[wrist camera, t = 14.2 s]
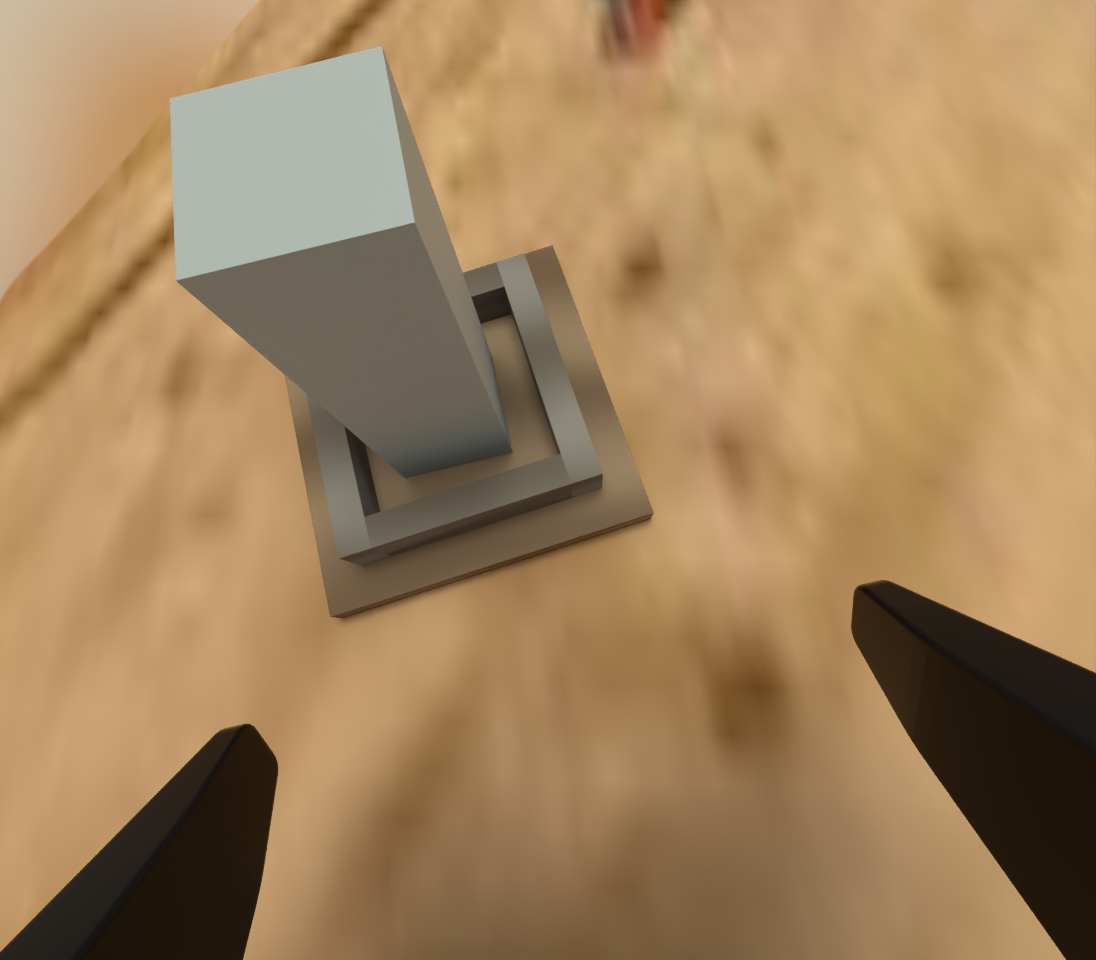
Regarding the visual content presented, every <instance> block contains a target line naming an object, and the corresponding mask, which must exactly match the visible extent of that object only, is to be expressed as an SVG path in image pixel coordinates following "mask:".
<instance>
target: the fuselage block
mask: <svg viewBox="0 0 1096 960" xmlns="http://www.w3.org/2000/svg"><path fill="white" fill-rule="evenodd" d="M170 117H171V148H172V178H173V209H174V239H175V270H176V281H177V282H178V283H179V284H180V285H182V286H183V287H184V288H185V289H186V290H187V291H189V292H190V293H191V294H192V295H193V296H194V297H196V298H197V299H198V300H199V301H200V302H201V303H203V304H204V305H205V306H206V307H207V308H208V309H209V310H211V311H212V312H213V313H214V314H215V315H216V316H218V317H219V318H220V319H221V320H222V321H223V322H225V323H226V324H227V325H228V326H229V327H230V328H232V329H233V330H234V331H235V332H236V333H237V334H238V335H240V336H241V337H242V338H243V339H244V340H245V341H247V342H248V343H249V344H250V345H251V346H252V347H254V348H255V349H256V350H257V351H258V352H259V353H261V354H262V355H263V356H264V357H265V358H266V359H267V360H269V361H270V362H271V363H272V364H273V365H274V366H276V367H277V368H278V369H279V370H280V371H281V372H283V373H284V374H285V375H286V376H287V377H288V378H290V379H291V380H292V381H293V382H294V383H295V384H296V385H298V386H299V387H300V388H301V389H302V390H303V391H305V392H306V393H307V394H308V395H309V396H310V397H312V398H313V399H314V400H315V401H316V402H317V403H319V404H320V405H321V406H322V407H323V408H324V409H325V410H327V411H328V412H329V413H330V414H331V415H332V416H334V417H335V418H336V419H337V420H338V421H339V422H341V423H342V424H343V425H344V426H345V427H346V428H348V429H349V430H350V431H351V432H352V433H353V434H354V435H356V436H357V437H358V438H359V439H360V440H361V441H363V442H364V443H365V444H366V445H367V446H368V447H370V448H371V449H372V450H373V451H374V452H375V453H377V454H378V455H379V456H380V457H381V458H382V459H384V460H385V461H386V462H387V463H388V464H389V465H390V466H392V467H393V468H394V469H395V470H396V471H397V472H399V473H400V474H401V475H402V476H403V477H404V478H408V477H412V476H416V475H421V474H425V473H429V472H433V471H437V470H442V469H446V468H450V467H454V466H458V465H463V464H467V463H471V462H475V461H480V460H484V459H488V458H492V457H496V456H501V455H505V454H509V453H513V451H512V446H511V441H510V437H509V432H508V428H507V423H506V418H505V414H504V409H503V404H502V400H501V395H500V391H499V386H498V381H497V377H496V372H495V368H494V363H493V358H492V355H491V352H490V349H489V346H488V343H487V340H486V338H485V335H484V332H483V329H482V326H481V324H480V321H479V318H478V315H477V312H476V310H475V307H474V304H473V301H472V298H471V295H470V293H469V290H468V287H467V284H466V281H465V279H464V276H463V273H462V270H461V267H460V264H459V262H458V259H457V256H456V253H455V250H454V248H453V245H452V242H451V239H450V236H449V233H448V231H447V228H446V225H445V222H444V219H443V217H442V214H441V211H440V208H439V205H438V202H437V200H436V197H435V194H434V191H433V188H432V186H431V183H430V180H429V177H428V174H427V171H426V169H425V166H424V163H423V160H422V157H421V155H420V152H419V149H418V146H417V143H416V141H415V138H414V135H413V132H412V129H411V126H410V124H409V121H408V118H407V115H406V112H405V110H404V107H403V104H402V101H401V98H400V95H399V93H398V90H397V87H396V84H395V81H394V79H393V76H392V73H391V70H390V67H389V64H388V62H387V59H386V56H385V53H384V50H383V48H382V46H380V47H376V48H372V49H368V50H364V51H360V52H356V53H352V54H348V55H344V56H340V57H336V58H332V59H328V60H324V61H320V62H316V63H312V64H308V65H304V66H300V67H295V68H291V69H287V70H283V71H279V72H275V73H271V74H267V75H263V76H259V77H255V78H251V79H247V80H243V81H239V82H235V83H231V84H227V85H223V86H219V87H215V88H211V89H206V90H202V91H198V92H194V93H190V94H186V95H182V96H178V97H174V98H170Z"/></svg>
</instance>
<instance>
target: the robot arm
mask: <svg viewBox="0 0 1096 960" xmlns="http://www.w3.org/2000/svg"><path fill="white" fill-rule="evenodd" d="M851 629H852V634H853V638H854V640H855V642H856V644H857V646H858V648H859V650H860V651H861V653H862V655H863V657H864V658H865V660H866V662H867V664H868V665H869V667H870V669H871V671H872V673H873V674H874V676H875V678H876V680H877V681H878V683H879V685H880V687H881V688H882V690H883V692H884V694H885V695H886V697H887V699H888V701H889V702H890V704H891V706H892V708H893V709H894V711H895V713H896V715H897V717H898V718H899V720H900V722H901V724H902V725H903V727H904V729H905V730H906V732H907V734H908V735H909V737H910V739H911V740H912V742H913V743H914V745H915V746H916V748H917V749H918V751H919V752H920V754H921V755H922V757H923V758H924V759H925V761H926V762H927V764H928V765H929V767H930V768H931V769H932V771H933V772H934V774H935V775H936V776H937V778H938V779H939V781H940V782H941V783H942V785H943V786H944V788H945V789H946V791H947V792H948V793H949V795H950V796H951V798H952V799H953V800H954V802H955V803H956V805H957V806H958V808H959V809H960V810H961V812H962V813H963V815H964V816H965V817H966V819H967V820H968V822H969V823H970V824H971V826H972V827H973V829H974V830H975V832H976V833H977V834H978V836H979V837H980V839H981V840H982V841H983V843H984V844H985V846H986V847H987V848H988V850H989V851H990V853H991V854H992V856H993V857H994V858H995V860H996V861H997V863H998V864H999V865H1000V867H1001V868H1002V870H1003V871H1004V872H1005V874H1006V875H1007V877H1008V878H1009V880H1010V881H1011V882H1012V884H1013V885H1014V887H1015V888H1016V889H1017V891H1018V892H1019V894H1020V895H1021V896H1022V898H1023V899H1024V901H1025V902H1026V904H1027V905H1028V906H1029V908H1030V909H1031V911H1032V912H1033V913H1034V915H1035V916H1036V918H1037V919H1038V920H1039V922H1040V923H1041V925H1042V926H1043V928H1044V929H1045V930H1046V932H1047V933H1048V935H1049V936H1050V937H1051V939H1052V940H1053V942H1054V943H1055V944H1056V946H1057V947H1058V949H1059V950H1060V952H1061V953H1062V954H1063V956H1064V957H1065V959H1066V960H1096V673H1095V672H1093V671H1090V670H1088V669H1086V668H1084V667H1081V666H1079V665H1077V664H1075V663H1072V662H1070V661H1068V660H1066V659H1063V658H1061V657H1059V656H1057V655H1054V654H1052V653H1050V652H1048V651H1045V650H1043V649H1041V648H1039V647H1036V646H1034V645H1032V644H1030V643H1027V642H1025V641H1023V640H1021V639H1018V638H1016V637H1014V636H1012V635H1010V634H1007V633H1005V632H1003V631H1001V630H998V629H996V628H994V627H992V626H989V625H987V624H985V623H983V622H980V621H978V620H976V619H974V618H971V617H969V616H967V615H965V614H962V613H960V612H958V611H956V610H953V609H951V608H949V607H947V606H944V605H942V604H940V603H938V602H935V601H933V600H931V599H929V598H926V597H924V596H922V595H920V594H917V593H915V592H913V591H911V590H908V589H906V588H904V587H902V586H899V585H897V584H895V583H893V582H890V581H886V580H880V581H875V582H871V583H866V584H862V585H859V586H857V587H856V589H855V591H854V596H853V609H852V622H851ZM277 777H278V763H277V760H276V757H275V755H274V753H273V752H272V750H271V749H270V748H269V746H268V745H267V743H266V742H265V741H264V739H263V738H262V736H261V735H260V733H259V732H258V731H257V729H256V728H255V727H254V726H252V725H250V724H242V725H238V726H234V727H229V728H225V729H223V730H220V731H219V732H218V733H216V734H215V735H214V736H213V737H212V738H211V739H210V740H209V741H208V742H207V743H206V744H205V745H204V746H203V747H202V748H201V749H200V750H199V751H198V752H197V753H196V755H195V756H194V757H193V758H192V759H191V760H190V761H189V762H188V763H187V764H186V765H185V766H184V767H183V768H182V769H181V770H180V771H179V772H178V773H177V774H176V775H175V776H174V777H173V778H172V779H171V780H170V781H169V782H168V783H167V784H166V785H165V786H164V787H163V788H162V789H161V790H160V791H159V792H158V793H157V794H156V795H155V796H154V797H153V798H152V799H151V800H150V801H149V802H148V803H147V804H146V805H145V806H144V807H143V808H142V809H141V810H140V811H139V812H138V813H137V814H136V815H135V816H134V817H133V818H132V819H131V820H130V821H129V822H128V823H127V824H126V825H125V826H124V827H123V828H122V829H121V830H120V831H119V832H118V833H117V834H116V835H115V837H114V838H113V839H112V840H111V841H110V842H109V843H108V844H107V845H106V846H105V847H104V848H103V849H102V850H101V851H100V852H99V853H98V854H97V855H96V856H95V857H94V858H93V859H92V860H91V861H90V862H89V863H88V864H87V865H86V866H85V867H84V868H83V869H82V870H81V871H80V872H79V873H78V874H77V875H76V876H75V877H74V878H73V879H72V880H71V881H70V882H69V883H68V884H67V885H66V886H65V887H64V888H63V889H62V890H61V891H60V892H59V893H58V894H57V895H56V896H55V897H54V898H53V899H52V900H51V901H50V902H49V903H48V904H47V905H46V906H45V907H44V908H43V909H42V910H41V911H40V912H39V913H38V914H37V915H36V916H35V917H34V918H33V919H32V920H31V921H30V922H29V923H28V925H27V926H26V927H25V928H24V929H23V930H22V931H21V932H20V933H19V934H18V935H17V936H16V937H15V938H14V939H13V940H12V941H11V942H10V943H9V944H8V945H7V946H6V947H5V948H4V949H3V950H2V951H1V952H0V960H243V957H244V953H245V949H246V945H247V941H248V937H249V933H250V929H251V925H252V921H253V916H254V912H255V908H256V904H257V900H258V895H259V891H260V886H261V881H262V875H263V870H264V864H265V857H266V851H267V844H268V837H269V831H270V824H271V817H272V811H273V804H274V797H275V790H276V784H277Z"/></svg>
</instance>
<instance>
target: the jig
mask: <svg viewBox="0 0 1096 960" xmlns="http://www.w3.org/2000/svg"><path fill="white" fill-rule="evenodd" d="M463 276H464V279H465V281H466V284H467V287H468V290H469V293H470V295H471V298H472V301H473V304H474V307H475V310H476V312H477V315H478V318H479V321H480V324H481V326H482V329H483V332H484V335H485V338H486V340H487V343H488V346H489V349H490V352H491V355H492V358H493V363H494V368H495V372H496V377H497V381H498V386H499V391H500V395H501V400H502V404H503V409H504V414H505V418H506V423H507V428H508V432H509V437H510V441H511V446H512V451H513V453H509V454H505V455H501V456H496V457H492V458H488V459H484V460H480V461H475V462H471V463H467V464H463V465H458V466H454V467H450V468H446V469H442V470H437V471H433V472H429V473H425V474H421V475H416V476H412V477H408V478H404V477H403V476H402V475H401V474H400V473H399V472H397V471H396V470H395V469H394V468H393V467H392V466H390V465H389V464H388V463H387V462H386V461H385V460H384V459H382V458H381V457H380V456H379V455H378V454H377V453H375V452H374V451H373V450H372V449H371V448H370V447H368V446H367V445H366V444H365V443H364V442H363V441H361V440H360V439H359V438H358V437H357V436H356V435H354V434H353V433H352V432H351V431H350V430H349V429H348V428H346V427H345V426H344V425H343V424H342V423H341V422H339V421H338V420H337V419H336V418H335V417H334V416H332V415H331V414H330V413H329V412H328V411H327V410H325V409H324V408H323V407H322V406H321V405H320V404H319V403H317V402H316V401H315V400H314V399H313V398H312V397H310V396H309V395H308V394H307V393H306V392H305V391H303V390H302V389H301V388H300V387H299V386H298V385H296V384H295V383H294V382H293V381H292V380H291V379H290V378H288V377H287V376H286V375H285V379H286V384H287V390H288V395H289V400H290V406H291V411H292V416H293V421H294V427H295V432H296V437H297V443H298V448H299V453H300V459H301V464H302V469H303V474H304V480H305V485H306V490H307V496H308V501H309V506H310V511H311V517H312V522H313V527H314V533H315V538H316V543H317V548H318V554H319V559H320V564H321V570H322V575H323V580H324V586H325V591H326V596H327V601H328V607H329V612H330V617H337V618H343V617H346V616H349V615H352V614H355V613H359V612H362V611H365V610H368V609H371V608H374V607H377V606H380V605H383V604H386V603H390V602H393V601H396V600H399V599H402V598H405V597H408V596H411V595H414V594H417V593H420V592H424V591H427V590H430V589H433V588H436V587H439V586H442V585H445V584H448V583H451V582H454V581H458V580H461V579H464V578H467V577H470V576H473V575H476V574H479V573H482V572H485V571H489V570H492V569H495V568H498V567H501V566H504V565H507V564H510V563H513V562H516V561H519V560H523V559H526V558H529V557H532V556H535V555H538V554H541V553H544V552H547V551H550V550H554V549H557V548H560V547H563V546H566V545H569V544H572V543H575V542H578V541H581V540H584V539H588V538H591V537H594V536H597V535H600V534H603V533H606V532H609V531H612V530H615V529H619V528H622V527H625V526H628V525H631V524H634V523H637V522H640V521H643V520H646V519H649V518H651V517H652V515H653V510H652V508H651V505H650V502H649V500H648V497H647V494H646V492H645V489H644V486H643V484H642V481H641V478H640V476H639V473H638V471H637V468H636V465H635V463H634V460H633V457H632V455H631V452H630V449H629V447H628V444H627V441H626V439H625V436H624V433H623V431H622V428H621V425H620V423H619V420H618V418H617V415H616V412H615V410H614V407H613V404H612V402H611V399H610V396H609V394H608V391H607V388H606V386H605V383H604V380H603V378H602V375H601V372H600V370H599V367H598V365H597V362H596V359H595V357H594V354H593V351H592V349H591V346H590V343H589V341H588V338H587V335H586V333H585V330H584V327H583V325H582V322H581V319H580V317H579V314H578V312H577V309H576V306H575V304H574V301H573V298H572V296H571V293H570V290H569V288H568V285H567V282H566V280H565V277H564V274H563V272H562V269H561V267H560V264H559V261H558V259H557V256H556V253H555V251H554V248H553V245H552V246H549V247H545V248H542V249H539V250H536V251H533V252H530V253H527V254H521V255H518V256H515V257H512V258H509V259H506V260H502V261H499V262H496V263H493V264H490V265H487V266H483V267H480V268H477V269H474V270H471V271H468V272H465V273H463Z"/></svg>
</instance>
